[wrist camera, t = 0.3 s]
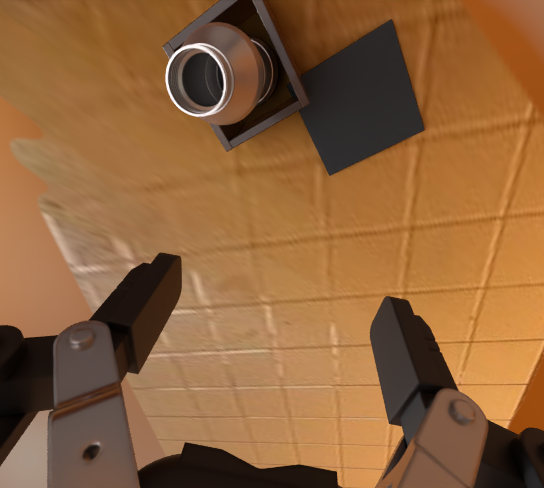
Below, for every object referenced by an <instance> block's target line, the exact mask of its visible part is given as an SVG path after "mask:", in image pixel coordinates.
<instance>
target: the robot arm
mask: <svg viewBox="0 0 544 488" xmlns="http://www.w3.org/2000/svg"><path fill="white" fill-rule="evenodd" d="M181 288H182V268H181V257H180V256H177V255H172V254H167V253H159V254H158V255H157V256H156V258H155V259H154V260H153V262H152V263H151V264H148V263H142V264H141V265H139V266H137V267H135V268H134V269H132V270H131V271H130V272H129V273H128V274H127V276H126V277H125V278H124V279H123V281H122V282H121V283H120V284H119V285H118V286H117V289H115V290H114V291H113V292H112V293H111V295H110V296H109V297H108V298H107V299H106V300H105V302H104V303H103V304H102V305H101V306H100V307H99V309H98V310H97V311H96V312H95V313H94V315H93V316H92V317H91V318H90V319H89V320H88V321H82V322H79V323H76V324H73V325H71V326H70V327H67V328H66V329H65V330H63V331H62V332H61V333H60V334H59V335H56V336H45V337H31V338H24V337H23V335H22V333H21V331H20V330H19V329H18V328H16V327H14V326H8V325H1V326H0V466H1V464H2V463H3V461H4V460H5V459H6V457H7V456H8V454H9V453H10V451H11V450H12V449H13V447H14V446H15V445H16V443H17V442H18V440H19V439H20V437H21V436H22V435H23V433H24V432H25V430H26V429H27V427H28V426H29V425H30V423H31V422H32V420H33V419H34V417H35V416H36V414H37V413H38V412H39V411H44V410H51V409H53V411H51V412H50V413H49V416H48V488H342V487H341V486H339V485H338V482H337V472H336V471H331V470H325V469H320V468H315V467H310V466H305V465H300V464H299V465H291V466H282V467H274V468H266V469H259V468H256V467H254V466H252V465H250V464H249V463H247V462H245V461H243V460H241V459H239V458H237V457H235V456H234V455H232V454H230V453H228V452H226V451H224V450H222V449H217V448H212V447H207V446H202V445H197V444H192V443H186V442H185V444H184V447H183V450H182V453H181V454H176V455H171V456H167V457H164V458H162V459H159V460H156V461H154V462H152V463H150V464H148V465H146V466H145V467H143V468H142V469H140V470H139V471H138V468H137V463H136V459H135V453H134V448H133V443H132V438H131V433H130V428H129V423H128V418H127V413H126V407H125V402H124V397H123V392H122V387H121V382H122V380H123V379H124V377H125V375H126V374H127V372H130V373H135V374H139V372H140V370H141V368H142V367H143V365H144V363H145V361H146V359H147V357H148V356H149V354H150V352H151V350H152V348H153V346H154V345H155V343H156V341H157V339H158V337H159V335H160V333H161V332H162V330H163V328H164V326H165V324H166V322H167V321H168V319H169V317H170V315H171V313H172V311H173V310H174V308H175V306H176V304H177V302H178V300H179V297H180V294H181ZM370 340H371V345H372V349H373V354H374V358H375V363H376V367H377V372H378V376H379V381H380V385H381V390H382V394H383V399H384V403H385V408H386V412H387V417H388V421H389V424H393V425H398V426H402V429H403V433H404V435H403V436H402V437H401V439H400V441H399V443H398V445H397V447H396V448H395V450H394V452H393V454H392V456H391V458H390V460H389V462H388V464H387V466H386V468H385V470H384V472H383V473H382V475H381V477H380V479H379V481H378V483H377V485H376V487H375V488H544V431H542V430H540V429H537V428H526V429H525V430H523V431H522V432H521V433H520V434H516V433H514V432H512V431H510V430H508V429H505V428H503V427H501V426H499V425H497V424H495V423H493V422H491V421H489V420H487V419H486V416H485V414H484V413H483V411H482V410H481V409H480V407H479V406H478V405H477V404H476V403H475V402H474V401H473V400H472V399H471V398H469V397H468V396H466V395H465V394H463V393H461V392H459V390H458V388H457V386H456V384H455V382H454V380H453V377H452V375H451V373H450V371H449V368H448V366H447V364H446V362H445V360H444V357H443V355H442V353H441V352H440V349H439V346H438V344H437V342H435V338H434V335H433V333H432V331H431V329H430V327H429V326H428V325H427V324H426V323H425V321H424V320H423V319H422V318H421V317H420V316H417V315H414V313H413V310H412V308H411V305H410V303H409V301H408V300H405V299H400V298H395V297H389V296H386V297H385V298H384V300H383V302H382V304H381V306H380V308H379V310H378V312H377V314H376V316H375V318H374V320H373V322H372V325H371V329H370Z"/></svg>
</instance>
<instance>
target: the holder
mask: <svg viewBox="0 0 544 488" xmlns="http://www.w3.org/2000/svg"><path fill="white" fill-rule="evenodd" d="M255 12H258V14H259V16H260V18H261V20H262V22H263V25H264V27H265V29H266V31H267V33H268V35H269V37H270V40H271V42H272V44H273V46H274V48H275V50H276V52H277V55H278V57H279V59H280V61H281V63H282V65H283V68H284V70H285V72H286V74H287V76H288V78H289V80H290V83H291V85H292V87H293V89H294V91H295V93H296V96H295V97H293V98H291V99H289V100H287V101H286V102H284V103H282V104H281V105H279V106H278V107H276V108H274V109H273V110H271V111H269V112H268V113H266V114H264V115H263V116H261V117H259V118H258V119H256V120H254V121H253V122H251V123H249V124H248V125H246V126H244V127H243V126H242V125H241V123H240V121H238V122H237V123H233V124H230V125H216V124H211V123H209V124H210V125H211V127H212V129H213V130H214V132H215V134H216V135H217V137H218V138H219V140H220V142H221V143H222V145H223V147H224V148H225V150H226V151H227V152H228V151H229V150H231V149H233V148H235V147H236V146H238V145H240V144H242V143H243V142H245V141H247V140H248V139H250V138H252V137H254V136H255V135H257V134H259V133H260V132H262V131H264V130H266V129H267V128H269V127H271V126H272V125H274V124H276V123H278V122H279V121H281V120H283V119H284V118H286V117H288V116H290V115H291V114H293V113H295V112H296V111H298V110H300V109H302V108H303V107H305V106H307V105H308V104H310V101H309V94H308V91H307V89H306V87H305V85H304V82H303V80H302V78H301V75H300V73H299V71H298V69H297V66H296V64H295V62H294V60H293V57H292V55H291V53H290V51H289V49H288V46H287V44H286V42H285V40H284V37H283V35H282V33H281V31H280V28H279V26H278V24H277V22H276V19H275V17H274V15H273V13H272V11H271V8H270V6H269V4H268V2H267V0H219V1H218V2H217V3H216V4H214V5H213V6H212V7H211V8H209V9H208V10H207V11H206V12H204V13H203V14H202V15H201V16H199V17H198V18H197V19H196V20H194V21H193V22H192V23H191V24H189V25H188V26H187V27H186V28H184V29H183V30H182V31H181V32H179V33H178V34H177V35H176V36H174V37H173V38H172V39H171V40H169V42H167V43H166V44H165V45H163V49H164V51H165V52H166V54H167V55H168V57H169V59H171V57H172V55H173V54H174V53H175V52H176V51H177V50H179V49H180V48H181V46H182V45H183V43H184V41H185V40H186V39H187V37H188V36H189V35H190V34H191V33H192V32H193V31H194V30H196V29H197V28H199V27H200V26H203V25H205V24H208V23H214V22H221V23H227V24H230V25H232V26H235V27H236V26H238V25H239V24H240V23H242V22H243V21H244V20H246V19H247V18H248V17H250V16H251V15H253V14H254V13H255Z"/></svg>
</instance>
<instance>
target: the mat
mask: <svg viewBox="0 0 544 488" xmlns="http://www.w3.org/2000/svg"><path fill="white" fill-rule="evenodd" d="M301 78H302V80H303V82H304V85H305V87H306V89H307V91H308V94H309V101H310V104H308V105H307V106H305V107H303V108H302V109H300V110H299V112H300V115H301V117H302V119H303V121H304V123H305V125H306V127H307V129H308V131H309V134H310V136H311V138H312V140H313V142H314V144H315V146H316V148H317V151H318V153H319V155H320V157H321V159H322V161H323V163H324V165H325V167H326V170H327V172H328V174H329V176H330V175H332V174H334V173H336V172H338V171H340V170H343V169H345V168H347V167H349V166H351V165H353V164H355V163H357V162H359V161H361V160H363V159H365V158H367V157H370V156H372V155H374V154H376V153H378V152H380V151H382V150H384V149H386V148H388V147H390V146H392V145H394V144H396V143H399V142H401V141H403V140H405V139H407V138H409V137H411V136H413V135H415V134H417V133H419V132H421V131H423V130H425V129H424V126H423V122H422V119H421V116H420V112H419V109H418V106H417V102H416V99H415V96H414V92H413V89H412V86H411V82H410V79H409V75H408V72H407V69H406V65H405V62H404V59H403V55H402V52H401V49H400V45H399V42H398V38H397V35H396V32H395V28H394V25H393V22H392V20H390V21H388V22H386V23H385V24H383V25H382V26H380V27H378V28H377V29H375V30H374V31H372V32H370V33H369V34H367V35H366V36H364V37H362V38H361V39H359V40H358V41H356V42H354V43H353V44H351V45H349V46H348V47H346V48H345V49H343V50H341V51H340V52H338V53H337V54H335V55H333V56H332V57H330V58H329V59H327V60H325V61H324V62H322V63H321V64H319V65H317V66H316V67H314V68H313V69H311V70H309V71H308V72H306V73H305V74H303V75H301ZM287 87H288V89H289V91H290V93H291V96H292V98H293V97H295V96H296V93H295V91H294V89H293V87H292V85H291V83H289V84H287Z"/></svg>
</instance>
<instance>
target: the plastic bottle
mask: <svg viewBox="0 0 544 488" xmlns="http://www.w3.org/2000/svg"><path fill="white" fill-rule="evenodd" d="M277 77H278V67H277V62H276V59H275V56H274V54H273V52H272V51H271V49H270V48H269V47H268V46H267V45H266V43H264V42H263V41H261V40H260V39H257V38H255V37H249V36H247V35H246V34H245V33H244V32H243V31H241V30H240V29H238V28H237V27H235V26H232V25H230V24H227V23H221V22H214V23H208V24H205V25H203V26H200V27H199V28H197V29H196V30H194V31H193V32H192V33H191V34H190V35H189V36H188V37H187V39H186V40H185V41H184V43H183V45H182V46H181V48H180V49H179V50H177V51H176V52H175V53H174V54H173V55H172V57H171V59H170V60H169V63H168V65H167V69H166V85H167V89H168V92H169V95H170V97H171V99H172V100H173V102H174V103H175V104H176V106H177V107H178V108H180V109H181V110H182V111H183V112H185V113H187V114H189V115H192V116H198V117H199V118H201V119H202V120H204V121H206V122H209V123H211V124H216V125H230V124H233V123H237V122H238V121H240V120H242V119H244V118H245V117H246V116H247V115H248V114H250V112H251V111H252V110H253V109H254V107H255V106H258V105H260V104H262V103H264V102H265V101H266V100H267V99H268V98H269V97H270V95H271V94H272V92H273V90H274V89H275V86H276V83H277Z"/></svg>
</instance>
